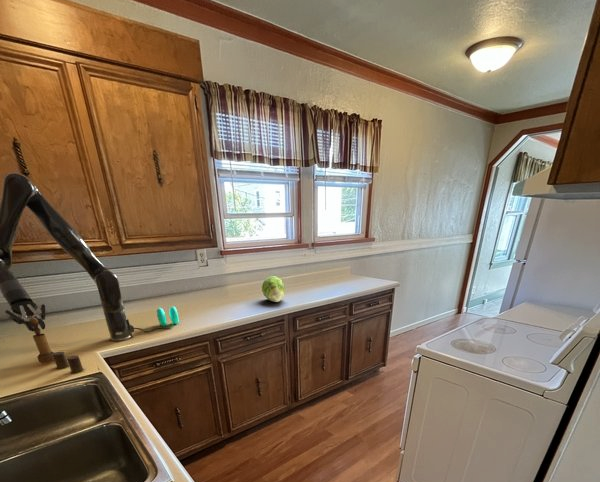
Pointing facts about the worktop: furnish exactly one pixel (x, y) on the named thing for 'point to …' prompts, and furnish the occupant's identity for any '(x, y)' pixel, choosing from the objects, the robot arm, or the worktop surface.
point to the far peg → (75, 364)
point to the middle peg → (60, 360)
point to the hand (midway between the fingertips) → (38, 329)
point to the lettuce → (273, 289)
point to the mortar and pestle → (41, 343)
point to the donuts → (162, 316)
